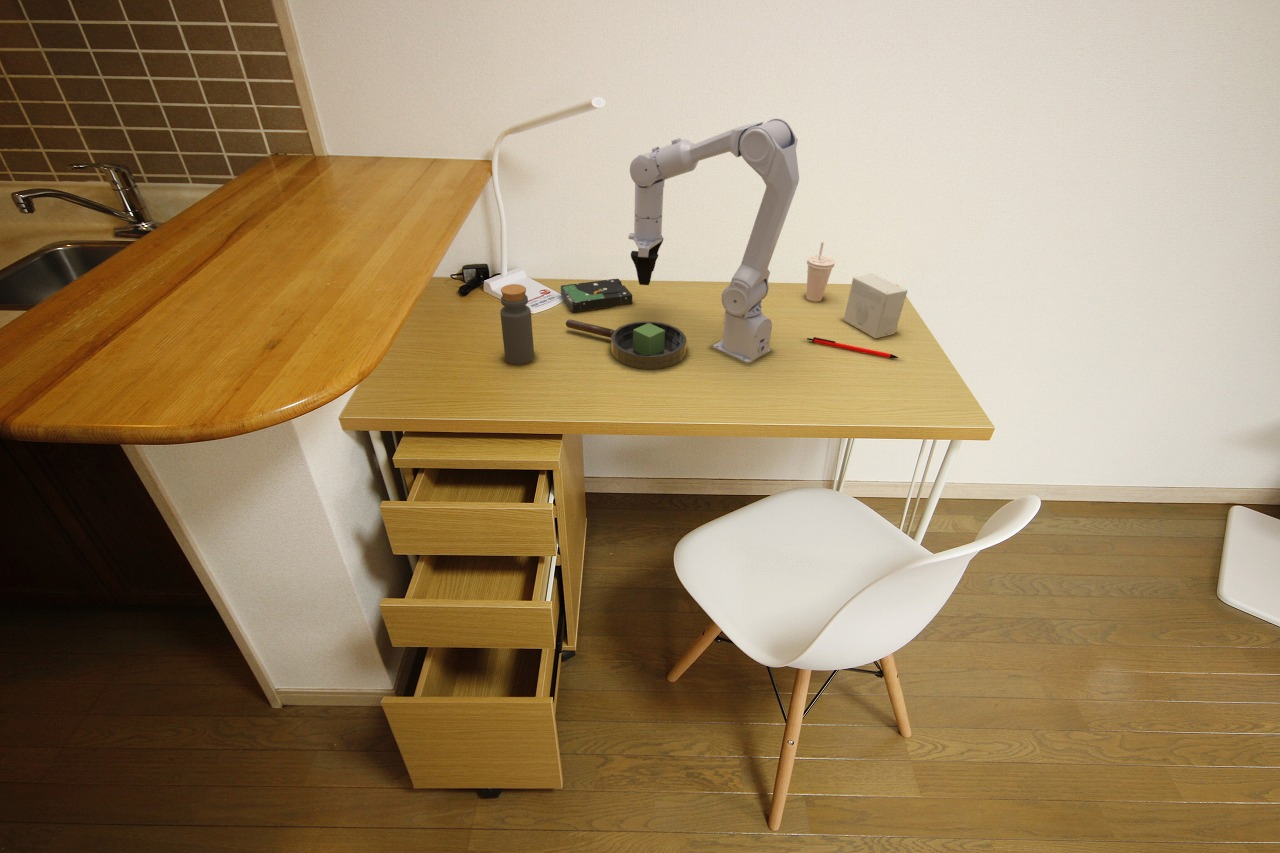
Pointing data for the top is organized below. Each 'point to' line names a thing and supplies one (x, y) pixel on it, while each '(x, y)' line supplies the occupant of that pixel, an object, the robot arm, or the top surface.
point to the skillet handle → (589, 328)
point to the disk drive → (595, 295)
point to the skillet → (666, 358)
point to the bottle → (516, 325)
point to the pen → (851, 347)
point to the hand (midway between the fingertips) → (646, 277)
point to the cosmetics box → (874, 305)
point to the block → (648, 339)
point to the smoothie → (818, 275)
